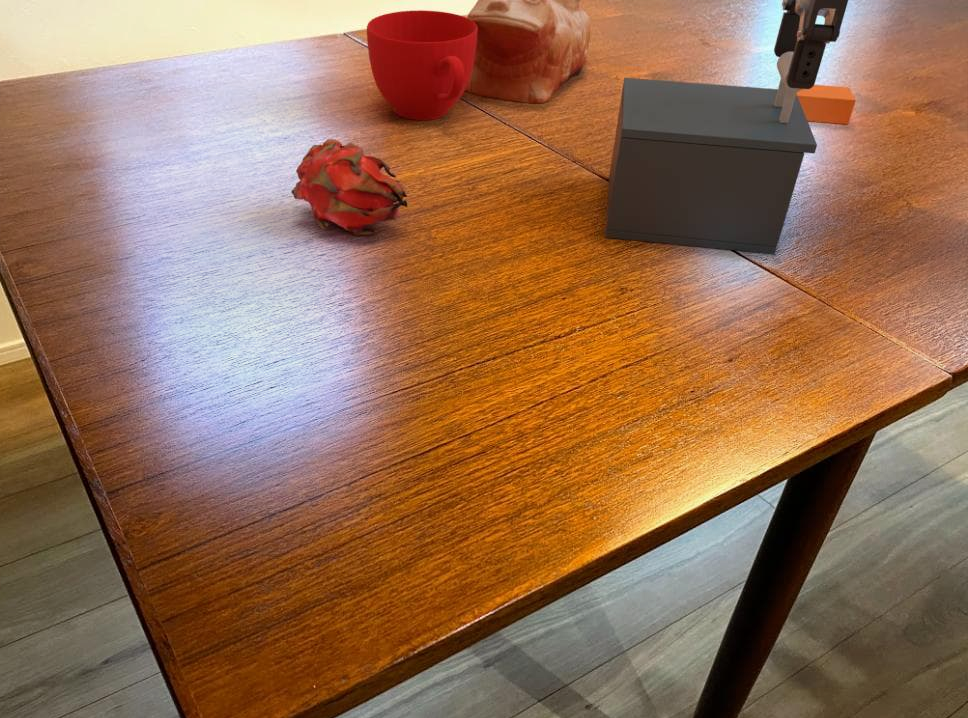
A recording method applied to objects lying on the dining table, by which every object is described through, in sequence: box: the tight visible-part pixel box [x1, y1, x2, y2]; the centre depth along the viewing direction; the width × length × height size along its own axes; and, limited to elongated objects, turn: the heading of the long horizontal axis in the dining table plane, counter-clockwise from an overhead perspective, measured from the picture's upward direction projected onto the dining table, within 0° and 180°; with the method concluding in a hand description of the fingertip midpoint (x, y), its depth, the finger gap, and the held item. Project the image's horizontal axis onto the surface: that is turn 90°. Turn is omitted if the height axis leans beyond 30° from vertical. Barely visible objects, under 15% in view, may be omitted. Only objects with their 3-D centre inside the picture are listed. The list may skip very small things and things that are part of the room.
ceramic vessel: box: [464, 0, 592, 104], centre depth 114 cm, size 14×26×15 cm, turn 155°
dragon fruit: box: [290, 138, 409, 236], centre depth 83 cm, size 8×8×12 cm
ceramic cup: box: [366, 9, 478, 121], centre depth 104 cm, size 13×17×10 cm
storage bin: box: [605, 88, 805, 255], centre depth 85 cm, size 16×14×10 cm
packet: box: [797, 84, 857, 125], centre depth 109 cm, size 7×5×3 cm, turn 79°
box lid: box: [621, 52, 818, 154], centre depth 80 cm, size 16×14×6 cm
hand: (791, 71), depth 78 cm, fingers open, 8 cm apart
